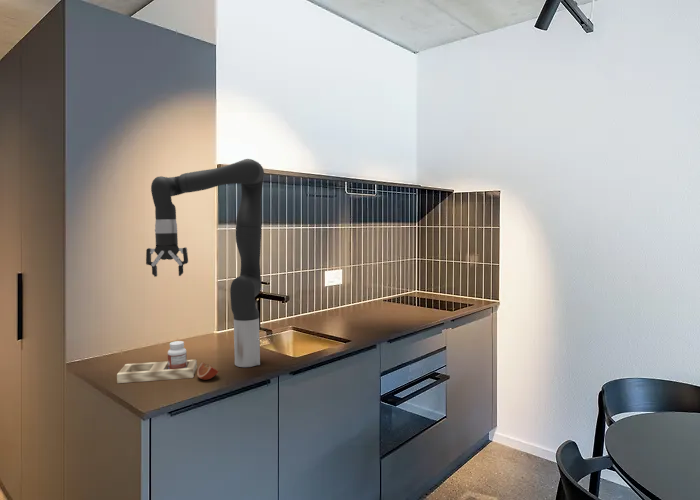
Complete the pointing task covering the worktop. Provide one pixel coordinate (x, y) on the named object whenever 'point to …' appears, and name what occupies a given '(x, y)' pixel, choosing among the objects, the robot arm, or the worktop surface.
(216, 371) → the fruit slice
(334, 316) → the worktop surface
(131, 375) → the rail
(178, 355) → the pill bottle
